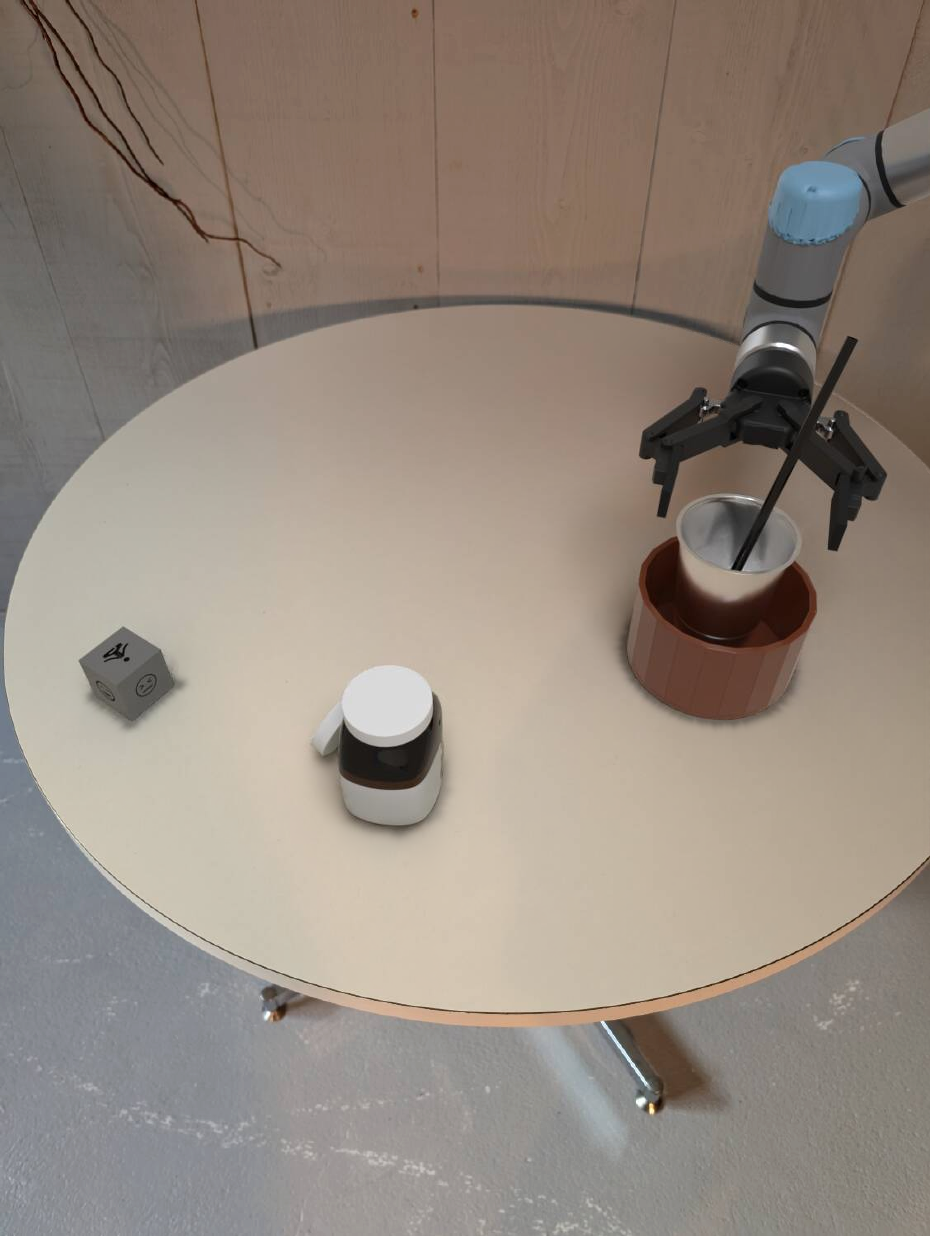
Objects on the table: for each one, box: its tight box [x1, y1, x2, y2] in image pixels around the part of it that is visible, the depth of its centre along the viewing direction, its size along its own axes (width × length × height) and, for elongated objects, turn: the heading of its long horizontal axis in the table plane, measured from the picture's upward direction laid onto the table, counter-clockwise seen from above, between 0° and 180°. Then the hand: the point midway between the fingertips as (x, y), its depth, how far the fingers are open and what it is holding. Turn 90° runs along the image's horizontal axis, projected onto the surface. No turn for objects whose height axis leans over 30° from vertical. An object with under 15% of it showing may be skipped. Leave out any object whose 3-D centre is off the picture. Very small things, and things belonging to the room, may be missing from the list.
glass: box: [673, 335, 859, 648], centre depth 75 cm, size 11×11×30 cm
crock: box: [626, 535, 818, 720], centre depth 83 cm, size 15×15×9 cm
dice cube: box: [78, 625, 175, 722], centre depth 82 cm, size 5×5×5 cm
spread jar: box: [310, 664, 445, 827], centre depth 73 cm, size 12×11×12 cm
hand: (748, 521), depth 72 cm, fingers open, 13 cm apart
